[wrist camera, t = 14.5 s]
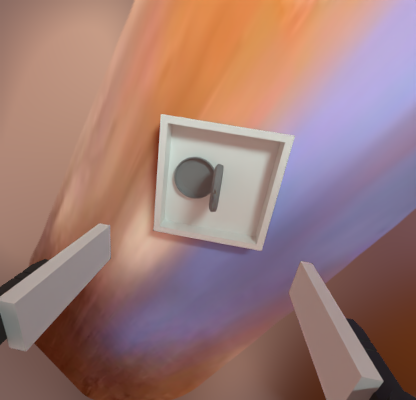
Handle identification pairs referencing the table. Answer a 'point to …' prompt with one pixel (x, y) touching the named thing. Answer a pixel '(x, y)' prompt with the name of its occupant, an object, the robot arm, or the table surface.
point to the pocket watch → (199, 180)
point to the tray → (231, 182)
